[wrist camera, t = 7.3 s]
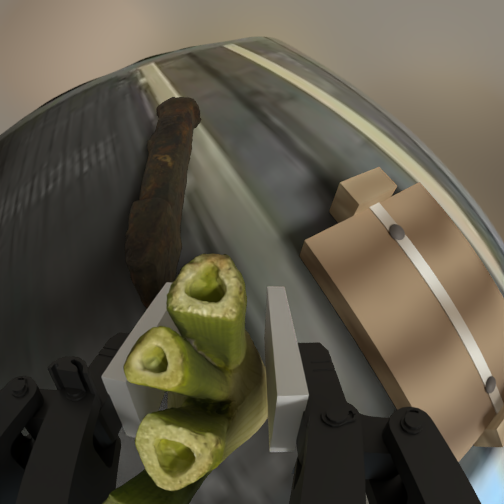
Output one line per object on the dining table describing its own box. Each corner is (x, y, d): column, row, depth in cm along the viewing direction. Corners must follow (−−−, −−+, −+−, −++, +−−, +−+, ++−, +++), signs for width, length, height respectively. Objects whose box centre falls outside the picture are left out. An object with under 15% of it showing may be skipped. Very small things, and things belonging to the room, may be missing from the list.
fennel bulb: (221, 456, 12) (156, 586, 1) (158, 397, 13) (-15, 378, 3) (292, 384, 14) (410, 358, 3) (227, 328, 15) (181, 180, 5)
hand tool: (163, 129, 25) (154, 92, 21) (202, 125, 25) (196, 86, 21) (122, 319, 16) (86, 295, 12) (181, 321, 16) (157, 297, 12)
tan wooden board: (283, 232, 19) (288, 203, 16) (395, 180, 22) (408, 155, 19) (438, 484, 10) (465, 492, 7) (520, 377, 12) (545, 369, 10)
